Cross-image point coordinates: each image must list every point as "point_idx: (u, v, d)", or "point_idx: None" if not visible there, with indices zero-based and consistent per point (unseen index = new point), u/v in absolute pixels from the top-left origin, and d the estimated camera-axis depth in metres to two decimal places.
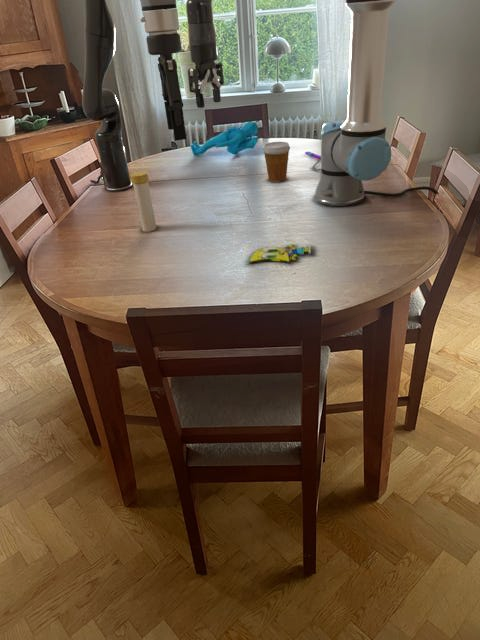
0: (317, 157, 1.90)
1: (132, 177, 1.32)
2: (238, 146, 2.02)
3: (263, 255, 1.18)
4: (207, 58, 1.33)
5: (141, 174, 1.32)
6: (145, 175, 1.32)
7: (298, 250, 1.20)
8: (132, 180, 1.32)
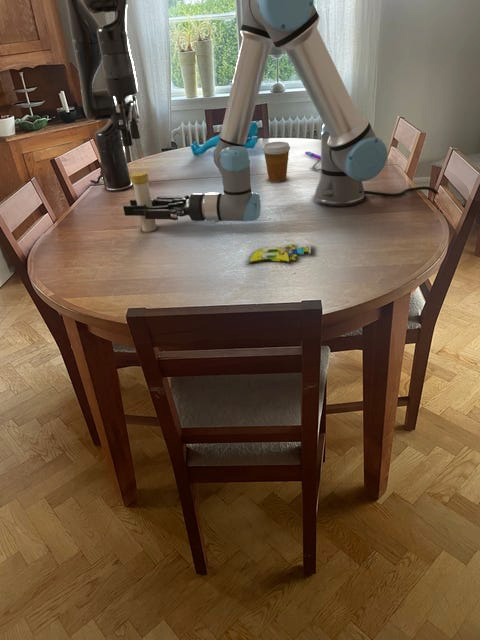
0: (317, 157, 1.90)
1: (132, 177, 1.32)
2: None
3: (263, 255, 1.18)
4: (130, 91, 1.19)
5: (141, 174, 1.32)
6: (145, 175, 1.32)
7: (298, 250, 1.20)
8: (132, 180, 1.32)
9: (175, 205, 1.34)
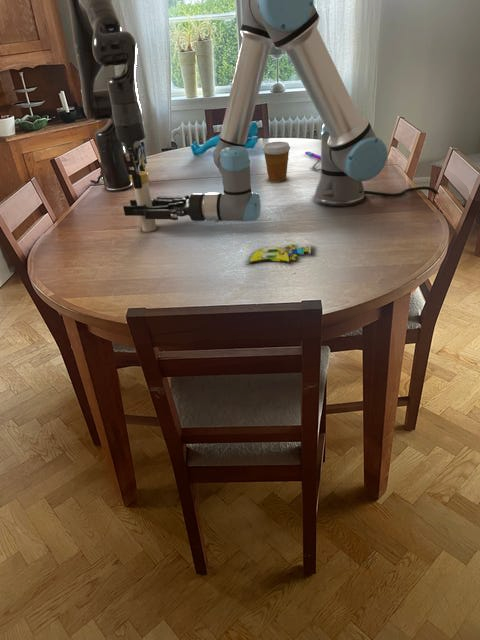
0: (317, 157, 1.90)
1: None
2: None
3: (263, 255, 1.18)
4: (139, 137, 1.25)
5: (141, 174, 1.32)
6: (145, 175, 1.32)
7: (298, 250, 1.20)
8: (132, 180, 1.32)
9: (175, 205, 1.34)
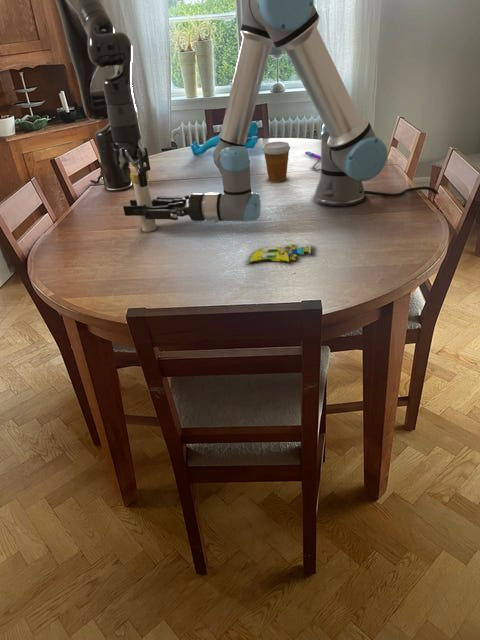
0: (317, 157, 1.90)
1: None
2: None
3: (263, 255, 1.18)
4: None
5: None
6: None
7: (298, 250, 1.20)
8: None
9: (175, 205, 1.34)
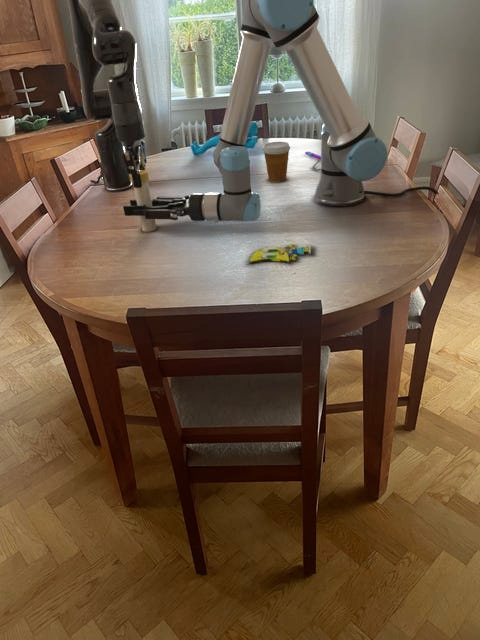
0: (317, 157, 1.90)
1: (144, 175, 1.32)
2: None
3: (263, 255, 1.18)
4: (139, 137, 1.25)
5: (143, 171, 1.34)
6: None
7: (298, 250, 1.20)
8: (144, 178, 1.32)
9: (175, 205, 1.34)
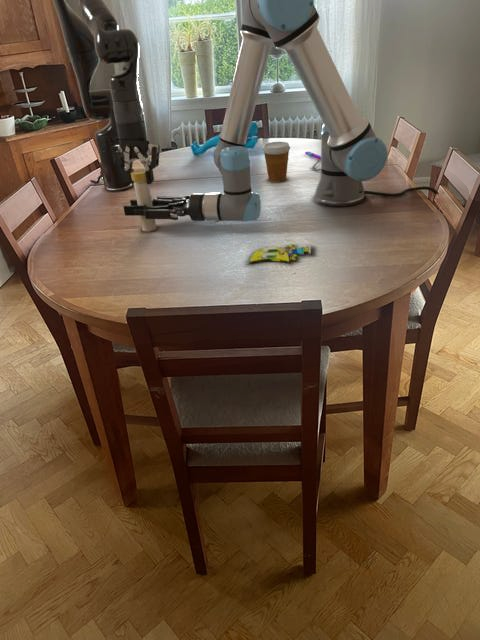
0: (317, 157, 1.90)
1: None
2: None
3: (263, 255, 1.18)
4: None
5: (137, 170, 1.34)
6: None
7: (298, 250, 1.20)
8: None
9: (175, 205, 1.34)
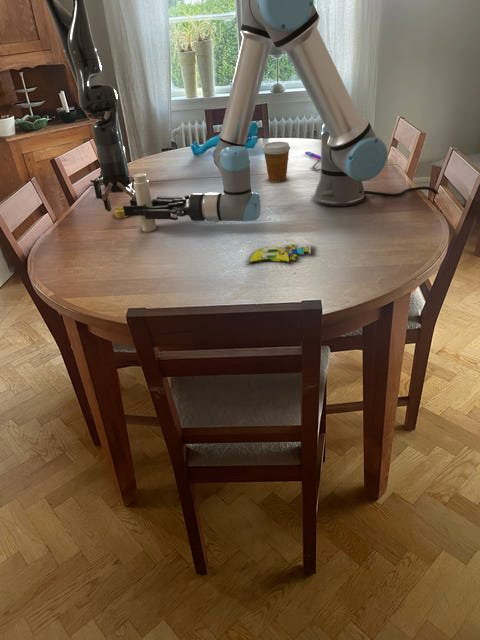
0: (317, 157, 1.90)
1: None
2: None
3: (263, 255, 1.18)
4: None
5: (119, 207, 1.53)
6: None
7: (298, 250, 1.20)
8: None
9: (175, 205, 1.34)
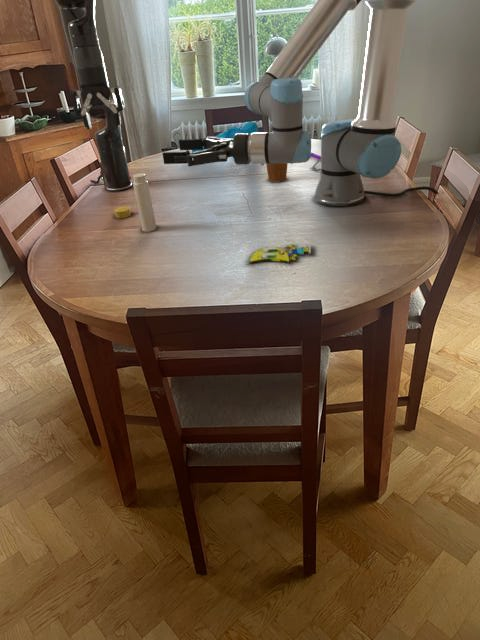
0: (317, 157, 1.90)
1: None
2: None
3: (263, 255, 1.18)
4: None
5: (119, 207, 1.53)
6: None
7: (298, 250, 1.20)
8: None
9: (220, 147, 1.22)
